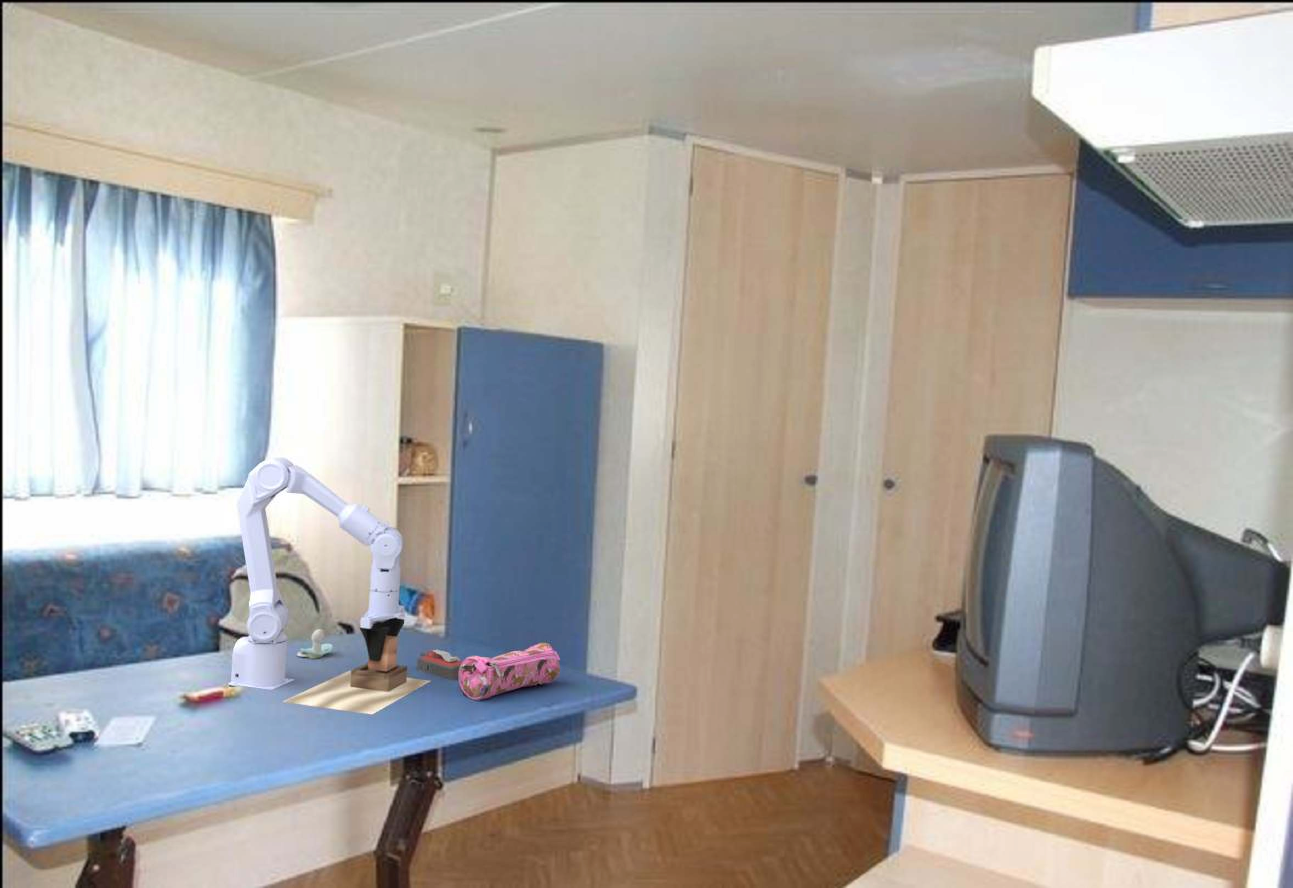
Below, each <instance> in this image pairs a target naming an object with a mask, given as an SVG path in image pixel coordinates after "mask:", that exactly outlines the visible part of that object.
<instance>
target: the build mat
mask: <svg viewBox="0 0 1293 888" xmlns="http://www.w3.org/2000/svg"><path fill="white" fill-rule="evenodd" d="M407 675H408V666H407V665H400V664H396V667H394V668H392V669H390V670H388V671H381V670H374V669H368V662H367V663H365V664H363V665H361V666H358V667H356V668H354V669H352V670H351V669H350V670H348V671H346V672H344V673H341V674H340V675H339V674H338V675H337V676H335V677H333V678H331V679H328V680H326V681H324V682H322V683H320V684H317V685H315V686H313V687H311V688H308V689H307V690H304V691H303V692H300V693H298V694H296V695H294V696H293V695H292V696H291V697H289V698H287V699H285V700H283V701H282V703H289V704H296V705H301V706H309V707H316V708H323V709H329V710H330V709H331V710H336V711H337V710H339V711H343V712H344V711H345V712H351V713H352V712H353V713H358V714H359V713H360V714H366V715H367V714H368V715H374V714H376V713H377V712H380V711H381V710H382V709H384V708H386V707H389V706H391V705H392V704H393V703H395V702H397V701H399V700H401V699H403V698H404V697H406V696H408V695H410V694H412V693H413V692H414V691H417V690H418V689H420V688H421V687H423V686H425V685H427V684H429V683H431V682H432V680H428V679H427V680H426V679H420V678H419V679H418V678H413V677H412V678H411V677H408V676H407Z"/></svg>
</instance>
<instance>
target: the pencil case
mask: <svg viewBox="0 0 1293 888" xmlns="http://www.w3.org/2000/svg"><path fill="white" fill-rule="evenodd" d="M462 661H463V662H462V664H461V666H460V668H459V679H458V682H459V688H460V689H461V690H462V692H463V694H464V695H466V697H468V699H471V700H474V701H480V700H485V699H488V698H490V697H493V696H497V695H499V694H503V693H506V692H510V691H513V690H516V689H520V688H523V687H526V688H527V687H534V686H537V684H540V685H543V684H542V683H548V684H550V683H552V682H554V681H555V680H556V679H557V678H558V677H559V675H560V673H561V665H560V661H561V658H560V656H559V654H558V652H557V651H556V650H554V649H553V648H552V646H551V645H550V644H549V643H547V642H541V643H538V644H535V645H532V646H529V648H527V649H521V650H514V651H513V650H512V651H510V652H507V653H503V654H500V655H496V656H495V657H492V658H491V657H489V656H488V657H486V656H479V655H470V656H467V657H466V658H465V659H464V660H462ZM533 685H534V686H533Z"/></svg>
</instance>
